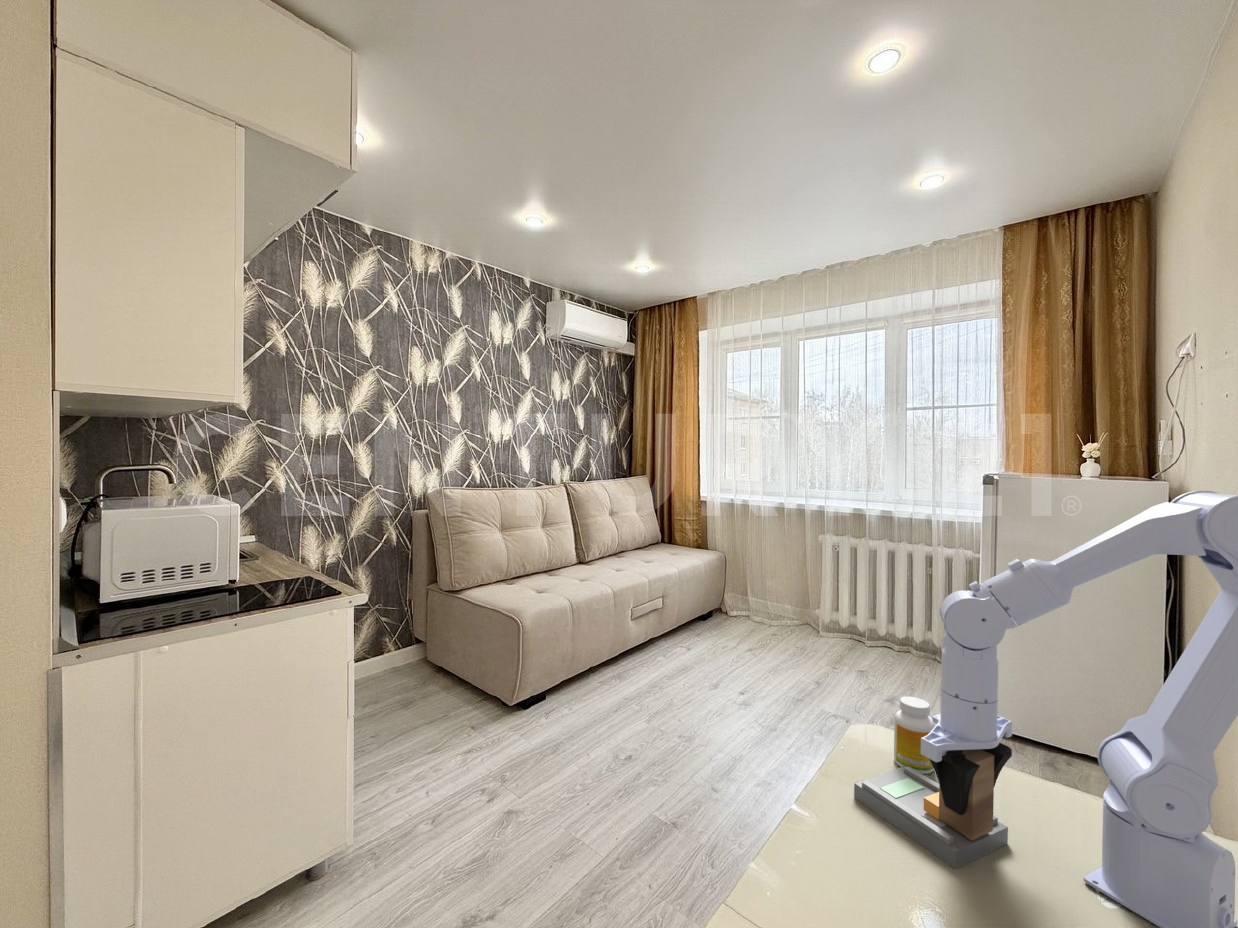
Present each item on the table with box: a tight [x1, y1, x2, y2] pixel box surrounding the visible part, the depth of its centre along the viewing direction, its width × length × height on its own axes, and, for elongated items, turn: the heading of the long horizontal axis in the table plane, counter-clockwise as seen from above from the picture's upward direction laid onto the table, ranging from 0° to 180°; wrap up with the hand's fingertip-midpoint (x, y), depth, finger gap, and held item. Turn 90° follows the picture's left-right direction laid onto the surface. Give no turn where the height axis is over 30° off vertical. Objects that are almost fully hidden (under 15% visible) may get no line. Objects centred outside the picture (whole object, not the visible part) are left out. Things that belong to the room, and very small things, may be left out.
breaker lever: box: [924, 792, 940, 820], centre depth 67 cm, size 2×4×2 cm, turn 115°
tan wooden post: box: [939, 749, 995, 840], centre depth 64 cm, size 4×4×9 cm
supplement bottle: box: [893, 696, 936, 775], centre depth 81 cm, size 5×5×10 cm
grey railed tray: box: [853, 766, 1009, 870], centre depth 69 cm, size 14×10×3 cm
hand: (966, 804), depth 64 cm, fingers closed on tan wooden post, 4 cm apart
